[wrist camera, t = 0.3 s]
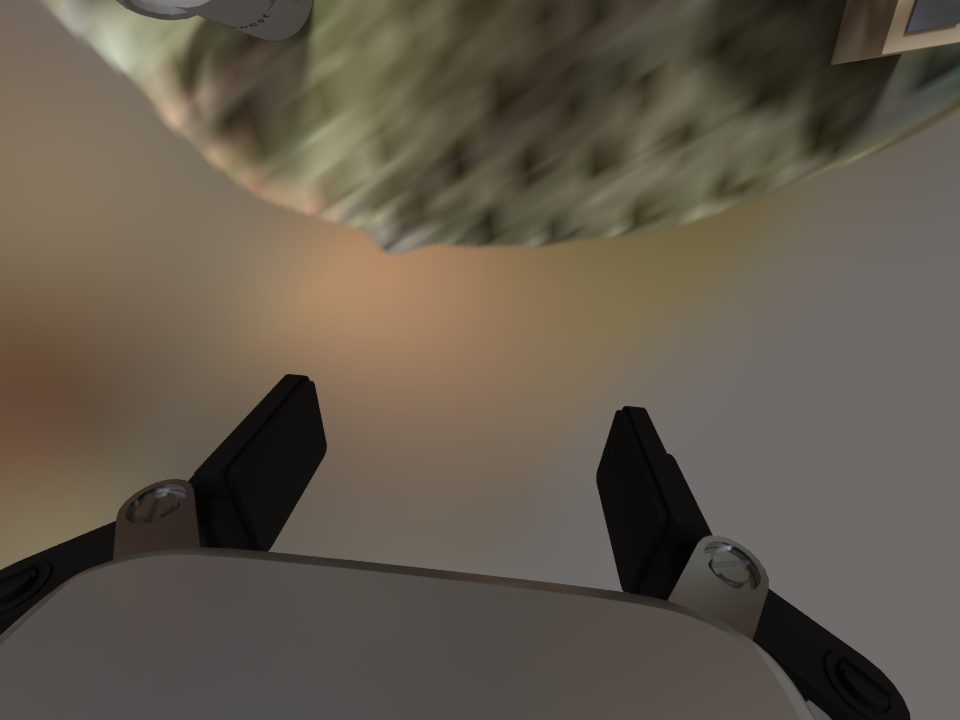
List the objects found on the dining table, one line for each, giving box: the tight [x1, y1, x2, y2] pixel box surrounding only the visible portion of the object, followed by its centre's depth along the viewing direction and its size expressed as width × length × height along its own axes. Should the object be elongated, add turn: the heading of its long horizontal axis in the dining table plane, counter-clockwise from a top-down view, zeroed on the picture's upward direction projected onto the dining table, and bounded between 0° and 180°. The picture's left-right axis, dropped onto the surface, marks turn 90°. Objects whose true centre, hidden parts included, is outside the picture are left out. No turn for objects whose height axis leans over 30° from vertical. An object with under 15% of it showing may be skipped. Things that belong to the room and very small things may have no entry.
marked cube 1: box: [830, 0, 960, 65], centre depth 26 cm, size 5×5×5 cm
